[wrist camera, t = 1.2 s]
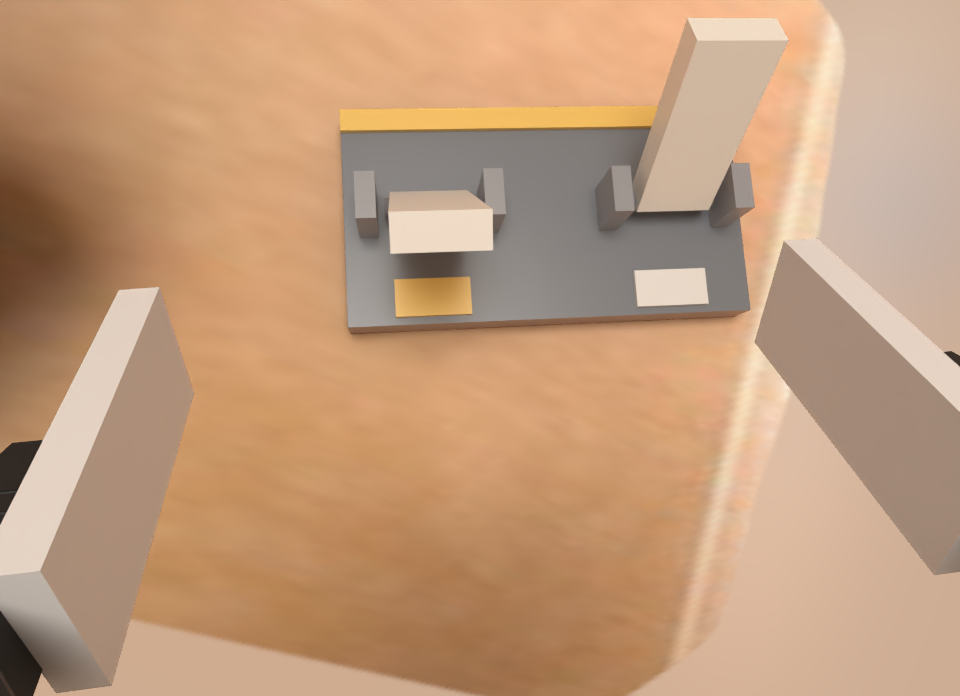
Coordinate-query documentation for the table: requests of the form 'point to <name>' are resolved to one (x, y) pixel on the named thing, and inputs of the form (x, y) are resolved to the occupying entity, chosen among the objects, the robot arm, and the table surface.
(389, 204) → the paddle
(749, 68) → the paddle
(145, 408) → the robot arm
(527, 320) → the switch unit
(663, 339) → the table surface
